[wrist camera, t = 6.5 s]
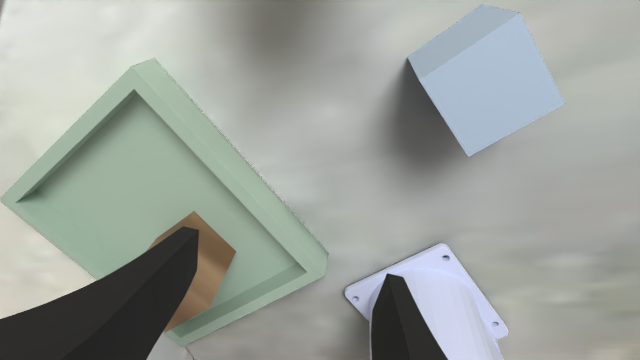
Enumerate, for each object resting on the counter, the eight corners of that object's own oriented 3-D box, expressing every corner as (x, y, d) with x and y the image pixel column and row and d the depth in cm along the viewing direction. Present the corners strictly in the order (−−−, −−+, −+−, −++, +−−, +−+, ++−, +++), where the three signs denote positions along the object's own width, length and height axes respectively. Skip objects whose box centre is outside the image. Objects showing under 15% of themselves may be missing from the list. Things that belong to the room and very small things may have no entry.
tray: (328, 253, 25) (325, 275, 23) (192, 324, 31) (181, 347, 29) (153, 57, 20) (131, 66, 18) (26, 183, 25) (-2, 199, 23)
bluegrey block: (518, 74, 19) (565, 103, 14) (446, 118, 20) (468, 156, 16) (481, 4, 17) (520, 12, 13) (407, 56, 19) (419, 80, 14)
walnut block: (193, 210, 24) (155, 262, 20) (236, 251, 25) (209, 308, 21) (156, 238, 26) (113, 291, 21) (198, 275, 27) (165, 332, 23)
